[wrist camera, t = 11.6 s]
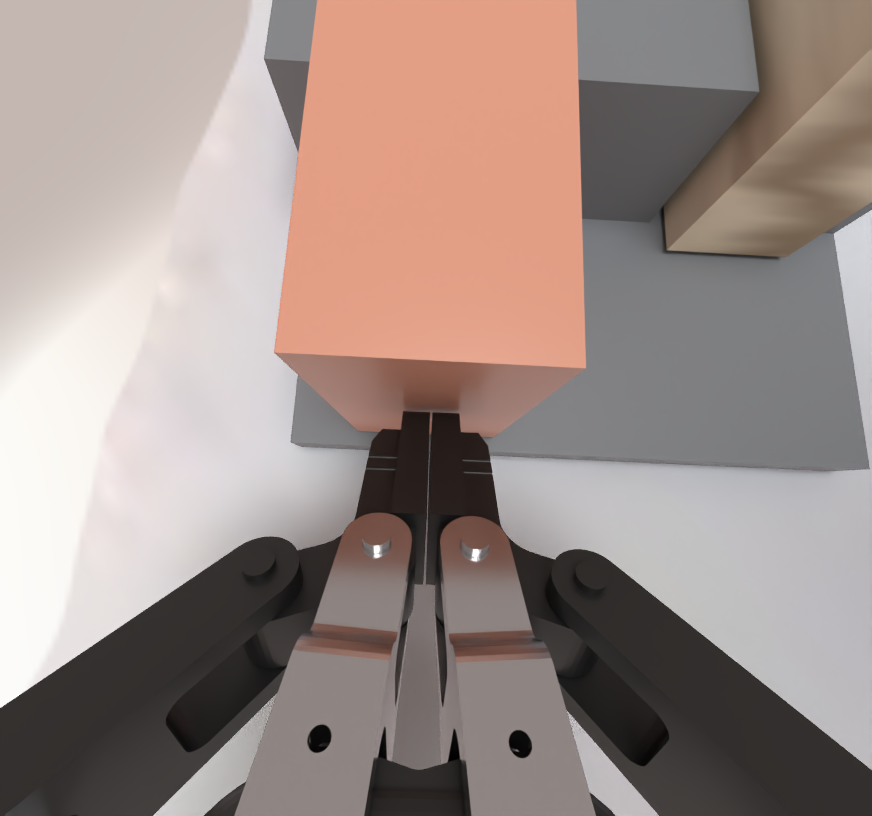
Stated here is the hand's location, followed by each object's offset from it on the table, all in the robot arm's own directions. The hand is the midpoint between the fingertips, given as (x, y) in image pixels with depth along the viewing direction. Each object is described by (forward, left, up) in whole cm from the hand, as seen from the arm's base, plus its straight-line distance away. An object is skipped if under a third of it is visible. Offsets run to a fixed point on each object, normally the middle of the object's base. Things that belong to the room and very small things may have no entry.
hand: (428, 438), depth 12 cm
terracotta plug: (0, -6, -4) cm, 7 cm away
